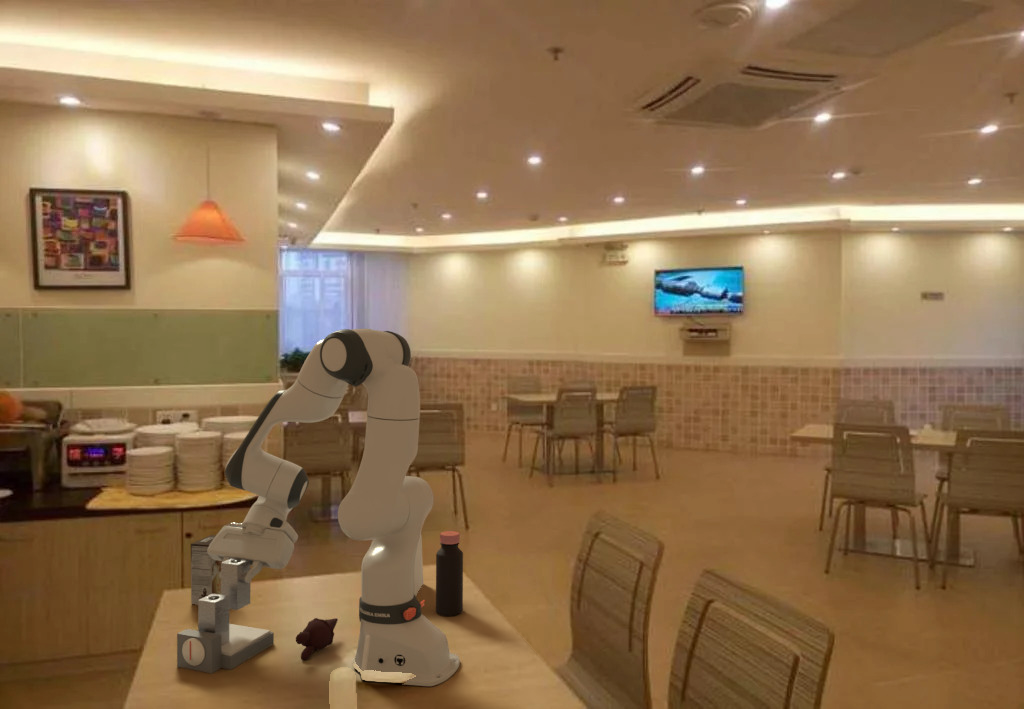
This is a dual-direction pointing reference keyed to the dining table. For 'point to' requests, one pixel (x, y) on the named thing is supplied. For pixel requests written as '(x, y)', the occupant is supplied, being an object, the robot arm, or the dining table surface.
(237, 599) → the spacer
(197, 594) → the coffee box
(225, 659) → the scale
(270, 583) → the dining table surface
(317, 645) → the icecream
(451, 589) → the bottle
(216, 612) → the post
